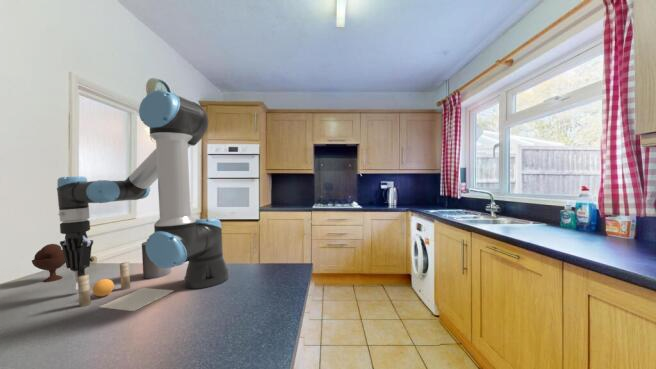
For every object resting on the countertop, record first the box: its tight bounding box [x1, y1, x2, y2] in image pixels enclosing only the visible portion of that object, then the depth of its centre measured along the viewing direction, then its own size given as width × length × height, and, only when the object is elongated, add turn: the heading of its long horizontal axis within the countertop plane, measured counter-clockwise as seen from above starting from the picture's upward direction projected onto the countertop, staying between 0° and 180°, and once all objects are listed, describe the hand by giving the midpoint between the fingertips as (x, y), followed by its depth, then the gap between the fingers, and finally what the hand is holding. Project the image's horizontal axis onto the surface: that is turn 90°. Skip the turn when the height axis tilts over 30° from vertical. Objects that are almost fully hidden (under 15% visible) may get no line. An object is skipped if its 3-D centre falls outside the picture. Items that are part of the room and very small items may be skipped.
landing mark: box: [98, 287, 175, 312], centre depth 84 cm, size 14×14×1 cm
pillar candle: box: [141, 241, 172, 280], centre depth 108 cm, size 10×10×15 cm
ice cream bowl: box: [31, 243, 66, 283], centre depth 109 cm, size 11×11×15 cm
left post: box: [77, 274, 92, 308], centre depth 82 cm, size 3×3×9 cm
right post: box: [119, 261, 131, 291], centre depth 94 cm, size 3×3×9 cm
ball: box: [91, 278, 115, 297], centre depth 88 cm, size 6×6×6 cm
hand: (79, 288), depth 92 cm, fingers closed
